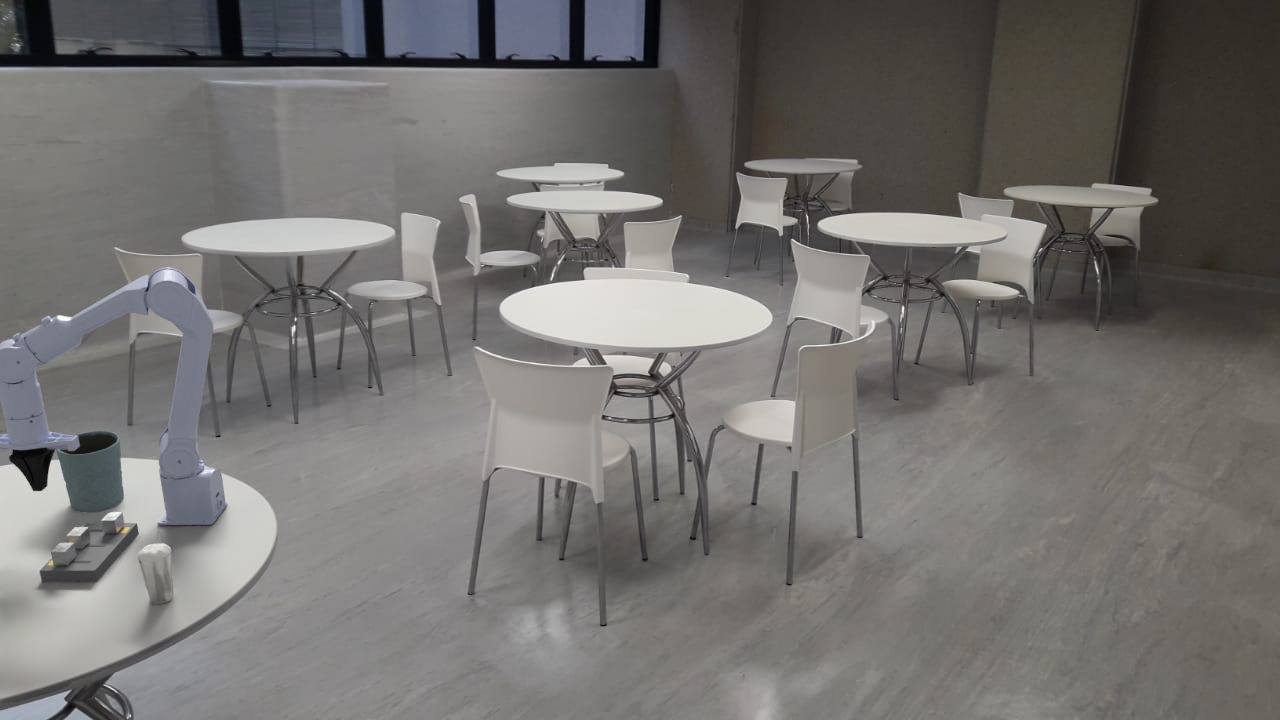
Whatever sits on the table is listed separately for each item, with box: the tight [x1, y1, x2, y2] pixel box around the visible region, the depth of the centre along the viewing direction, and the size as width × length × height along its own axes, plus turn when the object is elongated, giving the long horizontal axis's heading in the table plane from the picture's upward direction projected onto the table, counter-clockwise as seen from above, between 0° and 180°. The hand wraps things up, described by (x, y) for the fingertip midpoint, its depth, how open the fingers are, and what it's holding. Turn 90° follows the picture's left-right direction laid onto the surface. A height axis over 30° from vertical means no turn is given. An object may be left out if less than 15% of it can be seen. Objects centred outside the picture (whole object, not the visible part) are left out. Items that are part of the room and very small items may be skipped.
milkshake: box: [137, 531, 175, 605], centre depth 151 cm, size 4×5×10 cm
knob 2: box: [65, 526, 91, 549], centre depth 162 cm, size 2×3×2 cm
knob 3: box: [100, 511, 125, 533], centre depth 167 cm, size 2×3×2 cm
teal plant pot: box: [55, 430, 125, 514], centre depth 179 cm, size 10×10×12 cm
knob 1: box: [50, 542, 77, 565], centre depth 157 cm, size 2×3×2 cm
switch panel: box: [39, 522, 139, 583], centre depth 163 cm, size 8×15×2 cm, turn 2°
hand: (40, 488), depth 165 cm, fingers closed
